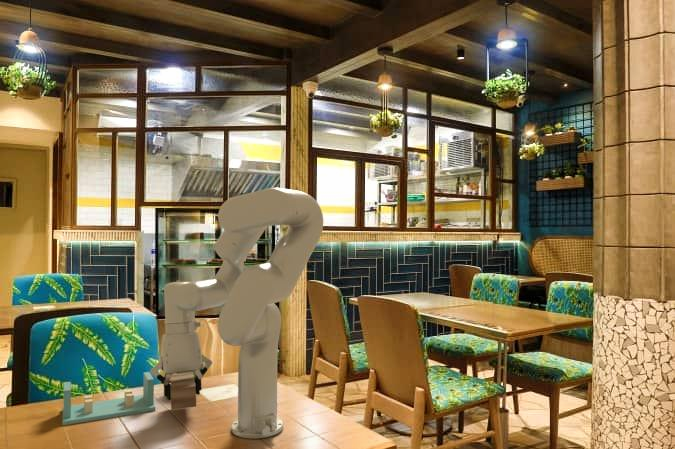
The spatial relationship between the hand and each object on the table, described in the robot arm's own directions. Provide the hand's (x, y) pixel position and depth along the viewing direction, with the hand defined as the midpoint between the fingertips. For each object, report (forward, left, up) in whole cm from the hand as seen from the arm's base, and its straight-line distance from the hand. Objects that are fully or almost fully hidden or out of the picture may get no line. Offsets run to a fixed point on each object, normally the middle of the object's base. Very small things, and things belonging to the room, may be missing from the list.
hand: (183, 395), depth 131 cm
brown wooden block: (0, 0, -1) cm, 1 cm away
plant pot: (+20, -6, -5) cm, 22 cm away
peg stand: (+12, +17, -5) cm, 21 cm away
